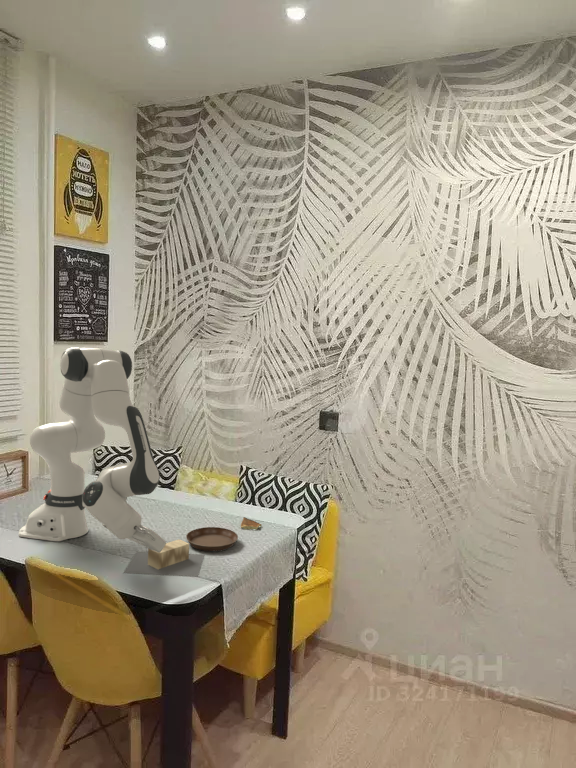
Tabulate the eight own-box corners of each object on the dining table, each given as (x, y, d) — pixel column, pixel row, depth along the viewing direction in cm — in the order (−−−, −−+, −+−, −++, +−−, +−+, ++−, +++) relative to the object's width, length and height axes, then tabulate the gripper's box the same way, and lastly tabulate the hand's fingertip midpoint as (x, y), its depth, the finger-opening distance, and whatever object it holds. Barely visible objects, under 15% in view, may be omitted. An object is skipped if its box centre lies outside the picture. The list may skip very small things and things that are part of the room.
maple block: (158, 553, 180) (189, 543, 189) (148, 548, 183) (179, 539, 193) (158, 569, 181) (188, 558, 190) (147, 564, 184) (178, 554, 193)
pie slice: (243, 520, 234) (243, 516, 234) (263, 522, 233) (263, 517, 233) (239, 530, 223) (240, 525, 223) (260, 531, 223) (260, 527, 222)
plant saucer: (215, 558, 195) (215, 549, 194) (174, 545, 204) (175, 536, 204) (247, 543, 209) (248, 535, 209) (208, 531, 219) (209, 523, 219)
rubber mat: (122, 576, 177) (122, 573, 177) (136, 554, 194) (136, 551, 194) (197, 579, 177) (197, 576, 177) (204, 557, 194) (204, 554, 194)
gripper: (154, 522, 168) (180, 548, 176) (112, 505, 181) (138, 529, 189) (140, 542, 165) (167, 566, 173) (98, 523, 178) (125, 546, 186)
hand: (151, 547), depth 181 cm, fingers closed
